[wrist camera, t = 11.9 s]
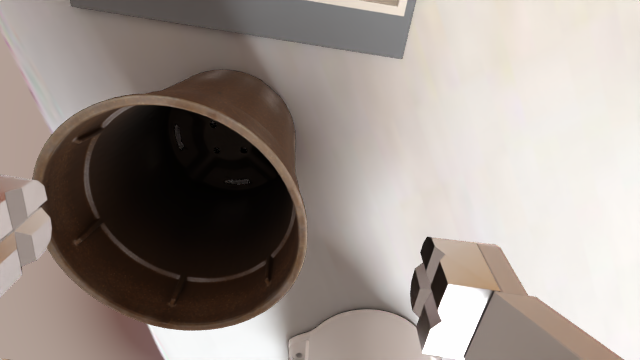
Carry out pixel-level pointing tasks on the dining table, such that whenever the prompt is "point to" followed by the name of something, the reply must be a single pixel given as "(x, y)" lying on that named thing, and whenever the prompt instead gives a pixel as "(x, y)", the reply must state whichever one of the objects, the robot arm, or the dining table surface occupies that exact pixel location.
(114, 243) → the plant pot
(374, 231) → the dining table surface
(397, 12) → the cream tray
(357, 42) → the slate mat
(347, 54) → the dining table surface
